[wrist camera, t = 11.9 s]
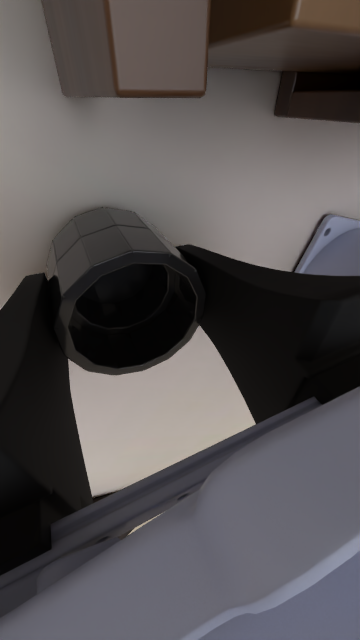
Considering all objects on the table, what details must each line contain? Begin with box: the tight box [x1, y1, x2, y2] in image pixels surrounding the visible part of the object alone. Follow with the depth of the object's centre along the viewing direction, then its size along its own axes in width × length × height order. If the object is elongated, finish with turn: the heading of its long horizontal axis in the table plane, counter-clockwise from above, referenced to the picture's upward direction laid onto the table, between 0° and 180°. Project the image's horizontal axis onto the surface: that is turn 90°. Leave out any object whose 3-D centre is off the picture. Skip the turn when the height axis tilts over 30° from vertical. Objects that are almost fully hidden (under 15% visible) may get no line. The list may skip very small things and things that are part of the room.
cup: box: [47, 207, 206, 375], centre depth 10 cm, size 5×5×4 cm
